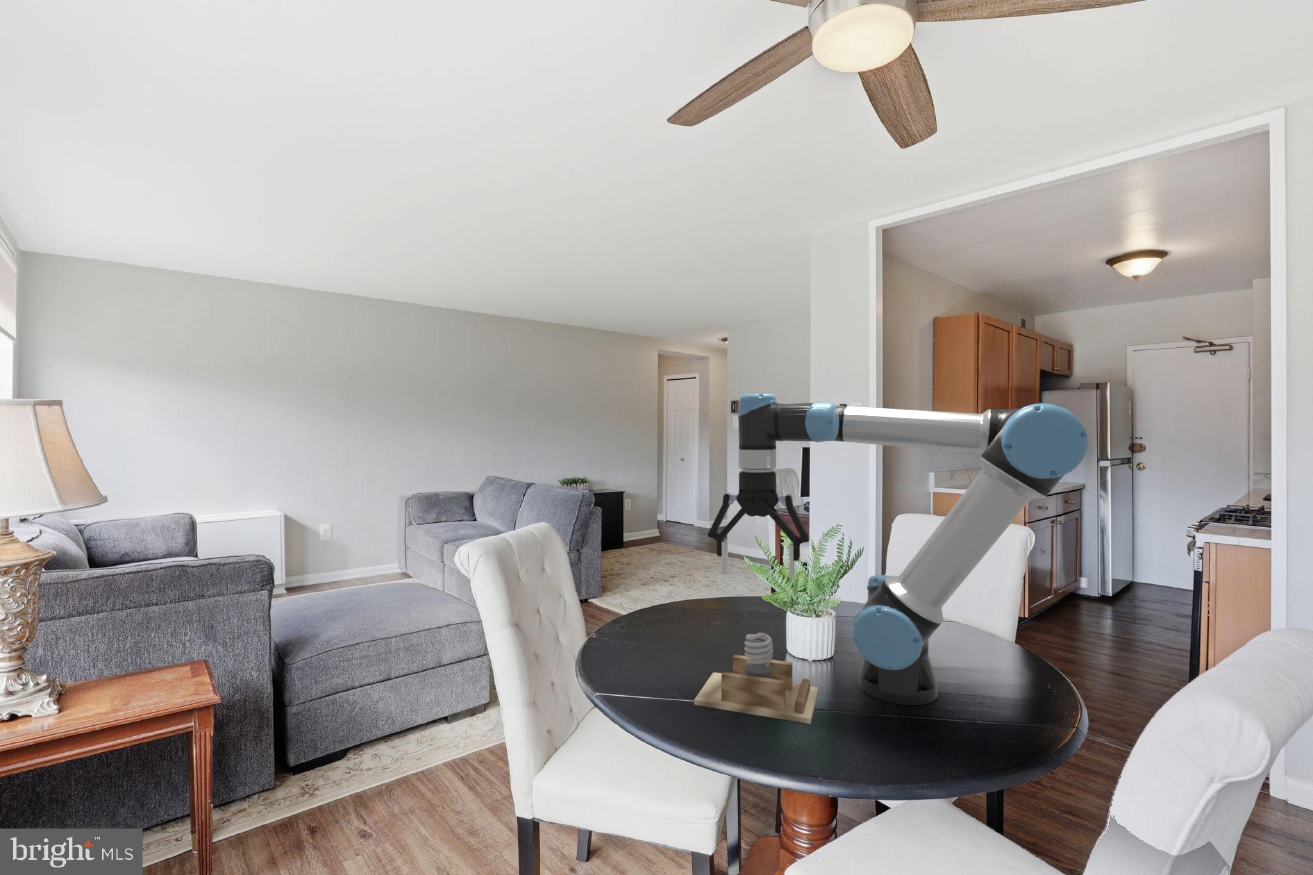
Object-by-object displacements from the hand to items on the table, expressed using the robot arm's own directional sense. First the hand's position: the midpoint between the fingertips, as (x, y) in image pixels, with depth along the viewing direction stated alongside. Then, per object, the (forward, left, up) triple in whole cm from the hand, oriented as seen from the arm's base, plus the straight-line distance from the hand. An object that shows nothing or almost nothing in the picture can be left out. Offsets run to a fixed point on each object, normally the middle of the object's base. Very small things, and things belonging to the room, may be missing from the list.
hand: (757, 574), depth 125 cm
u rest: (-1, +4, -24) cm, 24 cm away
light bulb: (-1, +4, -23) cm, 23 cm away
